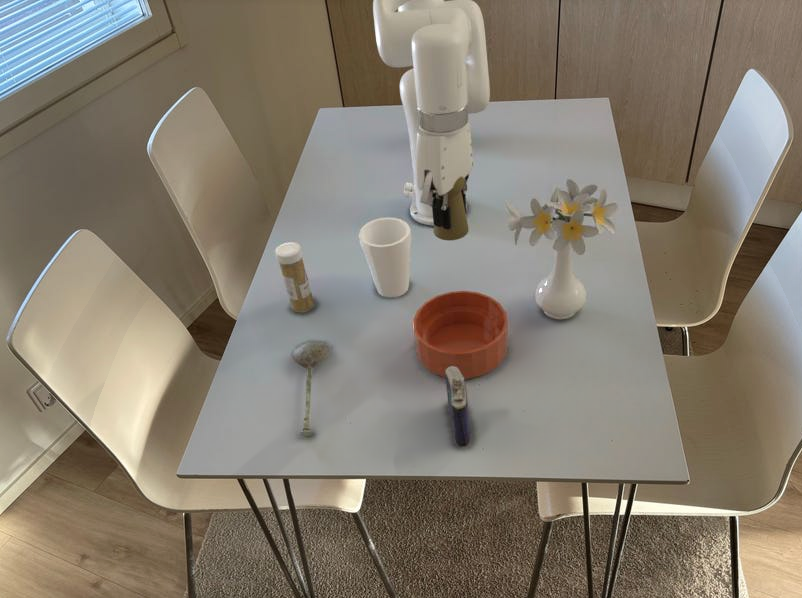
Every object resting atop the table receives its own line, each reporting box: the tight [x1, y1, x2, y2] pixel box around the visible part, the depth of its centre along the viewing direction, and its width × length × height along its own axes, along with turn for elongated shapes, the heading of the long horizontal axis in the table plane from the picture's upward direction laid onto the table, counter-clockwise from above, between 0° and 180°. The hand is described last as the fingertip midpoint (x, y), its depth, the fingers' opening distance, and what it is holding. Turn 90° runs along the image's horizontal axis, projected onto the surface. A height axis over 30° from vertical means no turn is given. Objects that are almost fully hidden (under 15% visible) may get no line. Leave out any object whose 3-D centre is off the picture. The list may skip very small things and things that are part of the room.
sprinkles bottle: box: [275, 241, 315, 314], centre depth 129 cm, size 5×5×13 cm
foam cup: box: [358, 216, 412, 299], centre depth 131 cm, size 10×9×13 cm
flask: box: [444, 366, 472, 448], centre depth 106 cm, size 9×3×11 cm, turn 8°
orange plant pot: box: [412, 290, 509, 379], centre depth 120 cm, size 16×16×6 cm
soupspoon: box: [291, 341, 330, 437], centre depth 117 cm, size 22×3×7 cm
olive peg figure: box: [433, 176, 470, 241], centre depth 114 cm, size 6×6×11 cm
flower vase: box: [505, 178, 619, 320], centre depth 119 cm, size 13×18×25 cm
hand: (450, 218), depth 117 cm, fingers closed on olive peg figure, 4 cm apart
